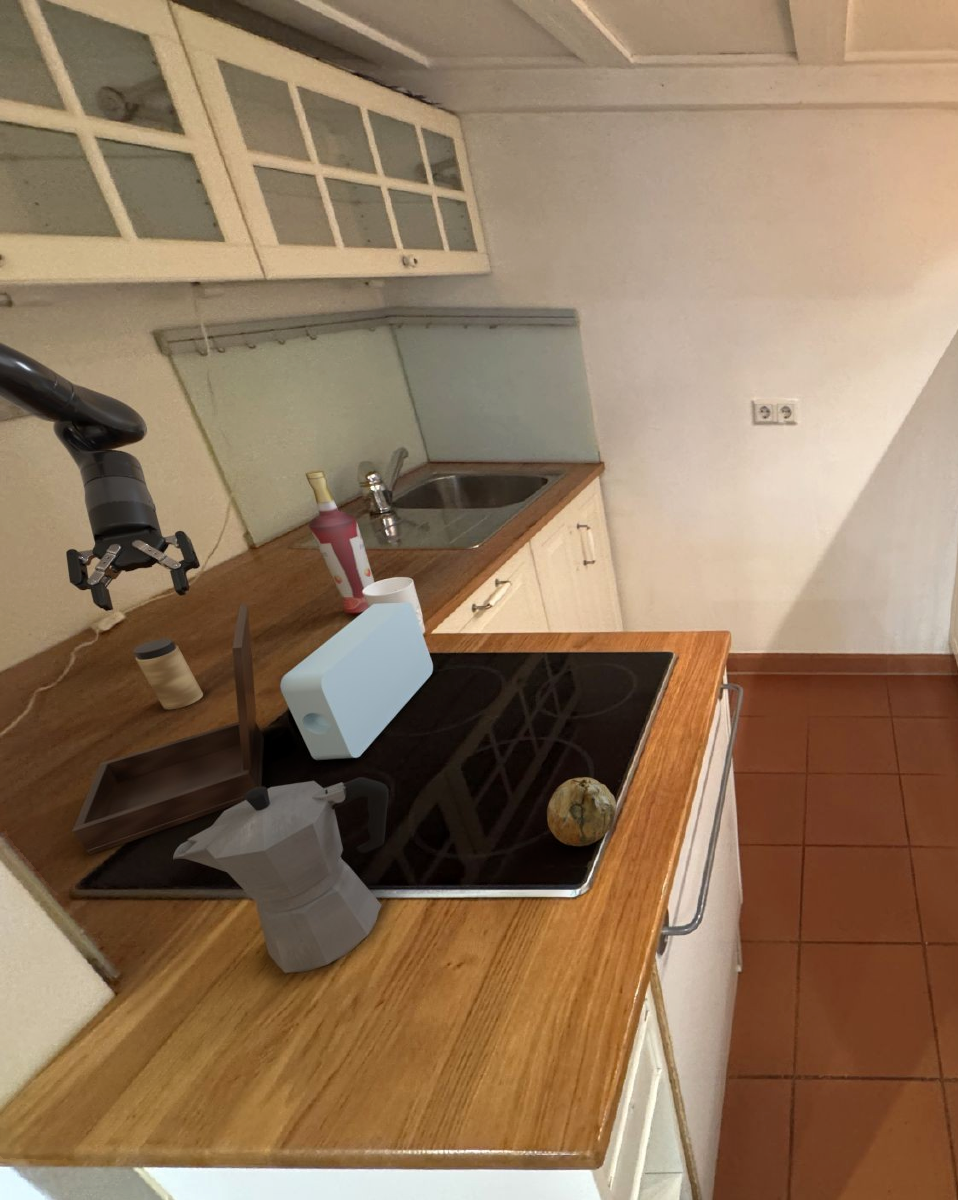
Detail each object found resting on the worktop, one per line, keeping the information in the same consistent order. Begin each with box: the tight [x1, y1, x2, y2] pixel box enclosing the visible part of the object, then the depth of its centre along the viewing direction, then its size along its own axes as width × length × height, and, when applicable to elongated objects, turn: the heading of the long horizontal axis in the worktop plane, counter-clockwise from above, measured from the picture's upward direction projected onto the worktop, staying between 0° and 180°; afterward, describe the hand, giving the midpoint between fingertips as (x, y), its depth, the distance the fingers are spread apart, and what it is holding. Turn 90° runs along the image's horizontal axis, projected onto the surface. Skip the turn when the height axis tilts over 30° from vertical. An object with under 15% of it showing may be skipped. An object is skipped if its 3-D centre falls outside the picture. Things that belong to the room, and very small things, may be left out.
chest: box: [71, 721, 265, 856], centre depth 83 cm, size 16×15×4 cm
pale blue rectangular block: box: [280, 602, 434, 761], centre depth 95 cm, size 23×6×13 cm, turn 4°
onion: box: [546, 776, 618, 847], centre depth 74 cm, size 8×8×8 cm
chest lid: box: [231, 604, 257, 770], centre depth 83 cm, size 16×15×1 cm
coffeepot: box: [172, 776, 390, 974], centre depth 61 cm, size 15×9×18 cm, turn 125°
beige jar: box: [132, 638, 204, 710], centre depth 100 cm, size 5×5×10 cm
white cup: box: [362, 576, 426, 635], centre depth 118 cm, size 8×8×10 cm
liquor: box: [305, 470, 376, 617], centre depth 124 cm, size 7×7×28 cm
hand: (144, 600), depth 101 cm, fingers open, 8 cm apart
